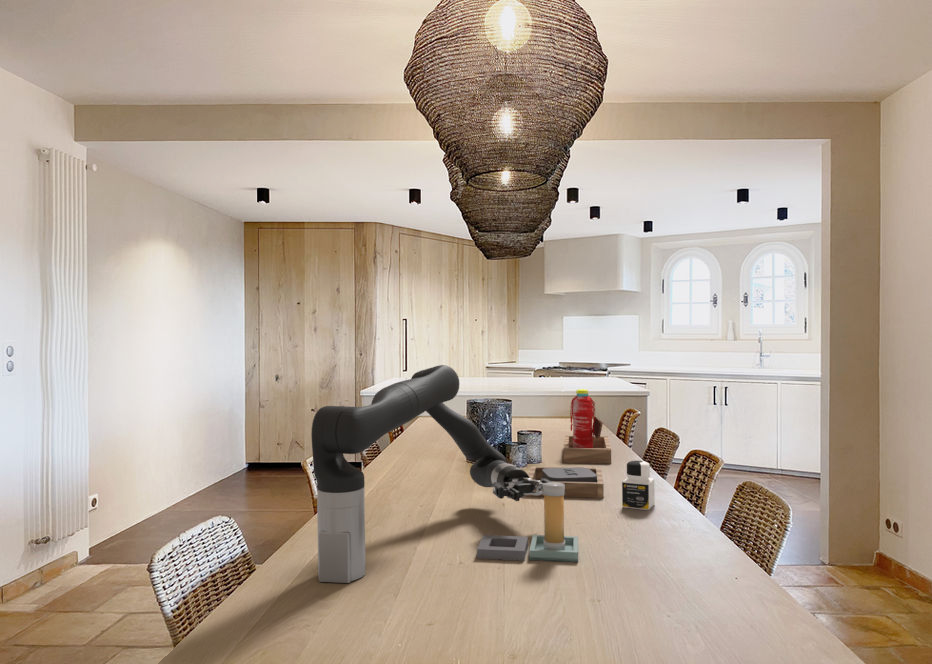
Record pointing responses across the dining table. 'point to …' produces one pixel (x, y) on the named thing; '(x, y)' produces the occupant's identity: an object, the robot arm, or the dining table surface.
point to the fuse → (554, 516)
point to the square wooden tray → (574, 484)
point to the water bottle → (584, 420)
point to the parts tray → (554, 555)
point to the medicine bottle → (638, 486)
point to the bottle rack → (588, 451)
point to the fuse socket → (502, 547)
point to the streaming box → (569, 474)
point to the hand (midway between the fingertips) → (535, 495)
